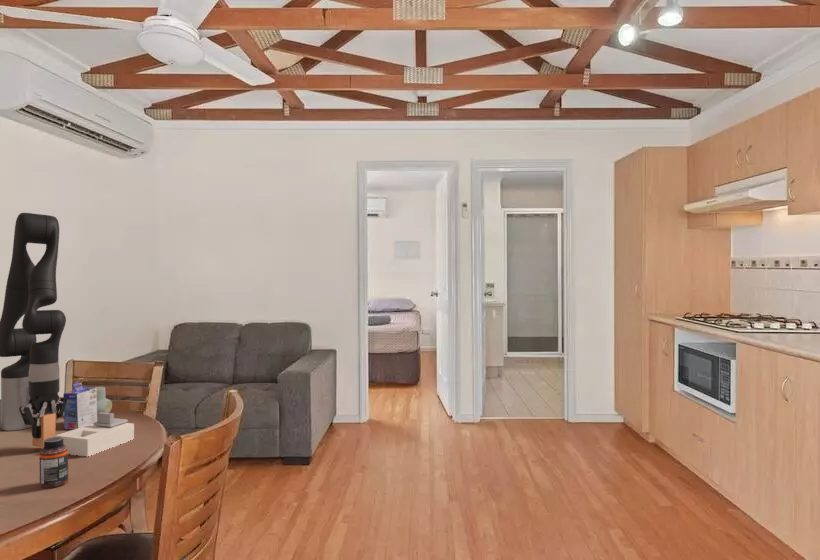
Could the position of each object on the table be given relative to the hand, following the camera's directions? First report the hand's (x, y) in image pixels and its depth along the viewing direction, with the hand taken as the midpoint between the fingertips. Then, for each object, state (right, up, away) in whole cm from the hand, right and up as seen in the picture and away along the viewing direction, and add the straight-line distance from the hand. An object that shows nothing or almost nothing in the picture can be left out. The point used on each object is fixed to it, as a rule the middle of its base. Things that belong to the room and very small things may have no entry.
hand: (44, 435), depth 160 cm
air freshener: (-7, -4, +39) cm, 39 cm away
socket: (+13, -4, +4) cm, 14 cm away
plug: (0, -3, 0) cm, 3 cm away
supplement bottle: (+20, -5, -26) cm, 33 cm away
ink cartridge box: (-5, -4, +25) cm, 26 cm away
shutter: (+15, +1, +9) cm, 17 cm away
